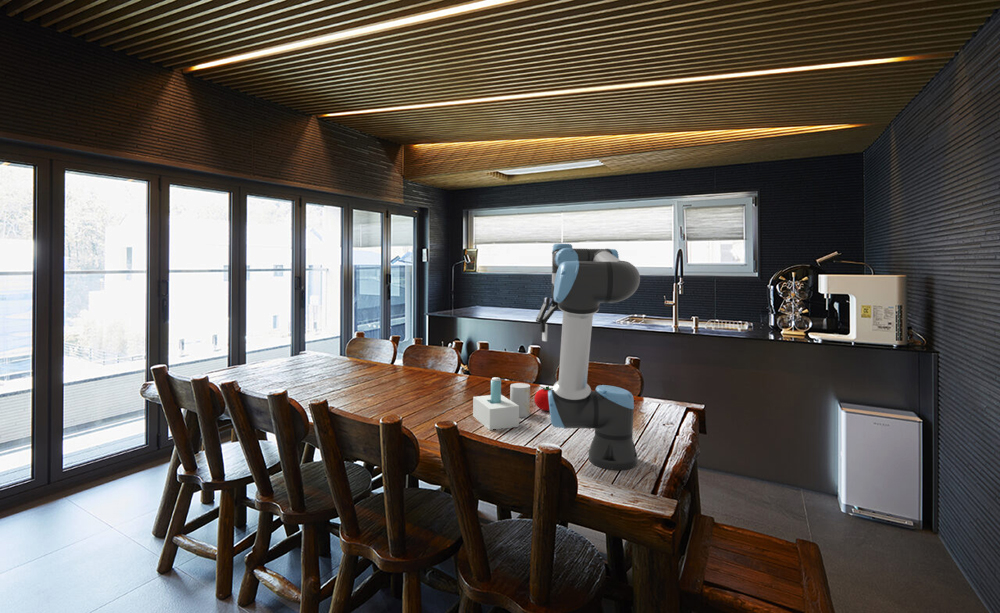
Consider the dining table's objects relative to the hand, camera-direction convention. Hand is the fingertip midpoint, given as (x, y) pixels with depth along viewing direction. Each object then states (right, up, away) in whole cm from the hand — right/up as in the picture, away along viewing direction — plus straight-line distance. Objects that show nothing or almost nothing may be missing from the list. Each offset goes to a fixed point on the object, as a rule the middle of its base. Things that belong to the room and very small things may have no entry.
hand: (560, 340), depth 188 cm
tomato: (-3, -31, +20) cm, 37 cm away
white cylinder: (-15, -32, +14) cm, 38 cm away
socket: (-25, -32, +4) cm, 41 cm away
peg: (-25, -30, +4) cm, 39 cm away
